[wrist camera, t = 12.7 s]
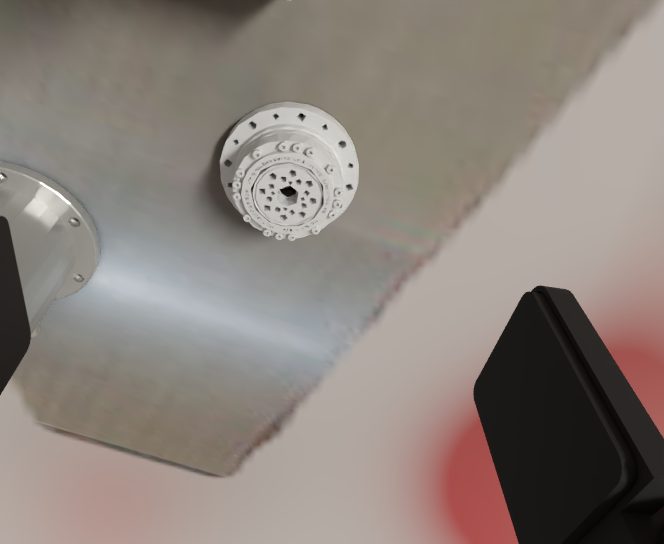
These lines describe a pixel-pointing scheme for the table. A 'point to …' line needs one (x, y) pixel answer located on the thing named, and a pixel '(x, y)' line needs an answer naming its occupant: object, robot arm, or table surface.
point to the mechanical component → (289, 169)
